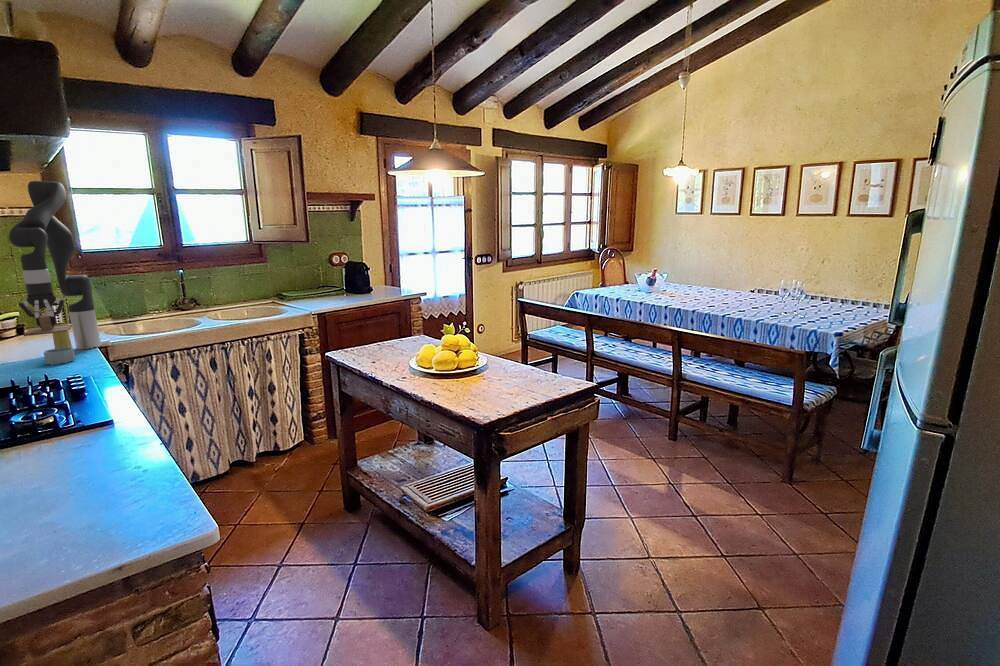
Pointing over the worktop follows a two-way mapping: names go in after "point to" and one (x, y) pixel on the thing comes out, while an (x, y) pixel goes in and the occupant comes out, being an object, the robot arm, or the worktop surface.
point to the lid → (46, 327)
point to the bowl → (59, 355)
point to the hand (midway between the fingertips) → (47, 326)
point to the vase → (61, 338)
